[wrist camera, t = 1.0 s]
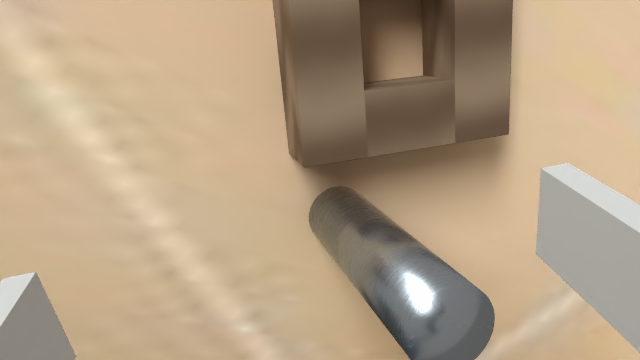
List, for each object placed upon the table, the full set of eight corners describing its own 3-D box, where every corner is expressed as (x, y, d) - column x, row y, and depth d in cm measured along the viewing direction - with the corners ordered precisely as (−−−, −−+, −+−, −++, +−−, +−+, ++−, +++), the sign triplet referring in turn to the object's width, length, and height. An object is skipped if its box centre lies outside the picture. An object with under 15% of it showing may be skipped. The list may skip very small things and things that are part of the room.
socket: (473, 125, 35) (508, 134, 32) (289, 153, 32) (304, 167, 28) (475, -87, 31) (516, -105, 28) (263, -82, 28) (278, -101, 24)
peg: (366, 236, 35) (493, 360, 21) (311, 247, 34) (407, 385, 20) (363, 182, 34) (495, 276, 20) (306, 192, 33) (404, 298, 19)
